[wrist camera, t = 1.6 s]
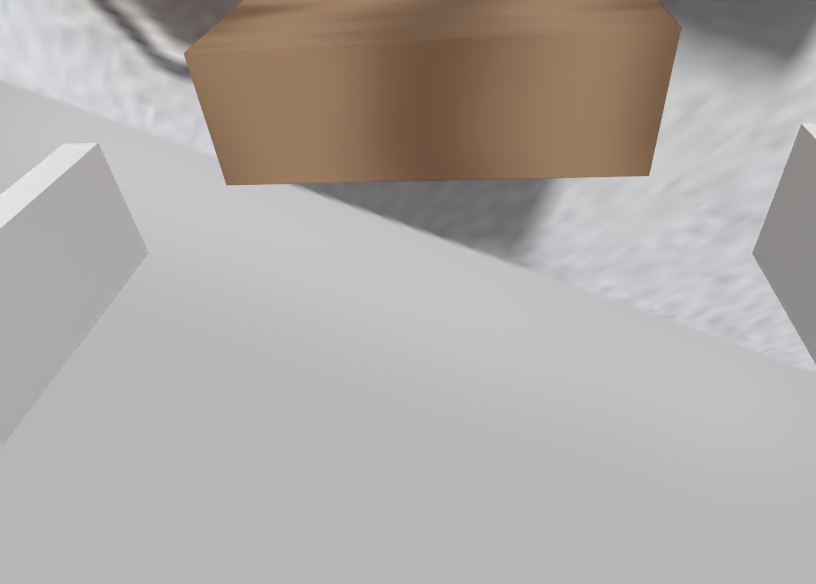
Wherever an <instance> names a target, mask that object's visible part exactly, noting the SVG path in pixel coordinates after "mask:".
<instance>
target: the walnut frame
mask: <svg viewBox="0 0 816 584" xmlns="http://www.w3.org/2000/svg"><path fill="white" fill-rule="evenodd" d="M680 31H681V26H680V25H679V24H678V23H677V21H676V20H675V19H674V18H673V17H672V15H671V14H670V13H669V12H668V11H667V10H666V8H665V7H664V6H663V5H662V4H661V2H660V1H659V0H243V1H242V2H241V3H240V4H239V5H238V6H237V7H236V8H234V9H233V10H232V11H231V12H230V13H229V14H228V15H226V16H225V17H224V18H223V19H222V20H221V21H220V22H219V23H217V24H216V25H215V26H214V27H213V28H212V29H211V30H209V31H208V32H207V33H206V34H205V35H204V36H203V37H202V38H200V39H199V40H198V41H197V42H196V43H195V44H194V45H192V46H191V47H190V48H189V49H188V50H187V51H186V52H185V53H184V56H185V59H186V62H187V65H188V68H189V71H190V74H191V77H192V80H193V83H194V86H195V89H196V92H197V95H198V99H199V102H200V105H201V108H202V111H203V114H204V117H205V120H206V123H207V126H208V129H209V132H210V135H211V139H212V142H213V145H214V148H215V151H216V154H217V157H218V160H219V163H220V166H221V169H222V172H223V175H224V178H225V182H226V185H258V184H303V183H349V182H394V181H440V180H485V179H531V178H576V177H622V176H649V174H650V169H651V164H652V160H653V155H654V150H655V146H656V141H657V137H658V132H659V127H660V123H661V118H662V114H663V109H664V104H665V100H666V95H667V91H668V86H669V81H670V77H671V72H672V67H673V63H674V58H675V54H676V49H677V44H678V40H679V35H680Z"/></svg>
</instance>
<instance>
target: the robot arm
mask: <svg viewBox="0 0 816 584" xmlns="http://www.w3.org/2000/svg"><path fill="white" fill-rule="evenodd" d="M147 254H148V251H147V248H146V246H145V244H144V242H143V240H142V238H141V235H140V233H139V231H138V229H137V227H136V224H135V222H134V220H133V218H132V216H131V214H130V211H129V209H128V207H127V205H126V203H125V201H124V198H123V196H122V194H121V192H120V190H119V187H118V185H117V183H116V181H115V179H114V176H113V174H112V172H111V170H110V168H109V166H108V163H107V161H106V159H105V157H104V155H103V153H102V150H101V148H100V146H99V144H98V143H75V144H63V145H62V146H60V147H59V148H58V149H57V150H55V151H54V152H53V153H52V154H50V155H49V156H48V157H47V158H46V159H44V160H43V161H42V162H40V163H39V164H38V165H37V166H36V167H34V168H33V169H32V170H31V171H29V172H28V173H27V174H26V175H24V176H23V177H22V178H21V179H19V180H18V181H17V182H16V183H14V184H13V185H12V186H11V187H9V188H8V189H7V190H6V191H4V192H3V193H2V194H1V195H0V449H1V448H2V446H3V445H4V443H5V442H6V441H7V440H8V438H9V437H10V435H11V434H12V433H13V432H14V430H15V429H16V428H17V426H18V425H19V424H20V422H21V421H22V420H23V418H24V417H25V416H26V414H27V413H28V412H29V411H30V409H31V408H32V406H33V405H34V404H35V403H36V401H37V400H38V399H39V397H40V396H41V395H42V393H43V392H44V391H45V389H46V388H47V387H48V385H49V384H50V383H51V381H52V380H53V379H54V377H55V376H56V375H57V373H58V372H59V371H60V369H61V368H62V367H63V365H64V364H65V363H66V361H67V360H68V359H69V358H70V356H71V355H72V353H73V352H74V351H75V350H76V348H77V347H78V346H79V344H80V343H81V342H82V340H83V339H84V338H85V336H86V335H87V334H88V332H89V331H90V330H91V328H92V327H93V325H94V324H95V323H96V322H97V320H98V319H99V318H100V316H101V315H102V314H103V312H104V311H105V310H106V308H107V307H108V306H109V304H110V303H111V302H112V301H113V299H114V298H115V297H116V295H117V294H118V293H119V291H120V290H121V289H122V287H123V286H124V284H125V283H126V282H127V281H128V279H129V278H130V277H131V275H132V274H133V273H134V271H135V270H136V269H137V267H138V266H139V265H140V263H141V262H142V261H143V259H144V258H145V257H146V256H147ZM752 254H753V256H754V257H755V259H756V261H757V263H758V264H759V266H760V268H761V269H762V271H763V273H764V275H765V276H766V278H767V280H768V282H769V283H770V285H771V287H772V289H773V290H774V292H775V294H776V296H777V297H778V299H779V301H780V303H781V304H782V306H783V308H784V310H785V311H786V313H787V315H788V316H789V318H790V320H791V322H792V323H793V325H794V327H795V329H796V330H797V332H798V334H799V336H800V337H801V339H802V341H803V343H804V344H805V346H806V348H807V350H808V351H809V353H810V355H811V357H812V358H813V360H814V362H815V363H816V124H801V127H800V130H799V132H798V135H797V138H796V140H795V143H794V145H793V148H792V151H791V153H790V156H789V159H788V161H787V164H786V166H785V169H784V172H783V174H782V177H781V180H780V182H779V185H778V188H777V190H776V193H775V195H774V198H773V201H772V203H771V206H770V209H769V211H768V214H767V216H766V219H765V222H764V224H763V227H762V230H761V232H760V235H759V238H758V240H757V243H756V245H755V248H754V251H753V253H752Z"/></svg>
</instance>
